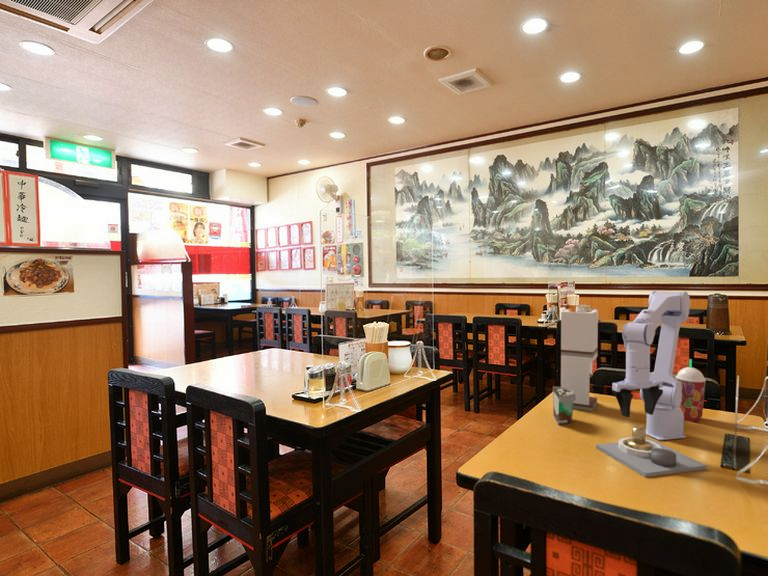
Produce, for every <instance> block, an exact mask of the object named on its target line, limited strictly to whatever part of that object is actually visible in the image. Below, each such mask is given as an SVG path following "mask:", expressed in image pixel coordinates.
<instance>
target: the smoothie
mask: <svg viewBox="0 0 768 576" xmlns="http://www.w3.org/2000/svg"><path fill="white" fill-rule="evenodd" d="M692 363H693V359H691V358H689V363H688V364H689V365H688V366H687V367H683V368H682V369H680V370H679V371H678V372H677V374H676V375H675V376H674V377H675V378H676V379H677V380H678V381H679V382H680V383H681V385H682V400H681V404H680V406H679V408H680V409H681V410H682V412H683V415H684V421H689V422H699V421H700V420H701V418H702V417H703V410H704V401H705V400H704V399H705V390H706V380H707V379H706V378H705V376H704V374H703V373H702V372H701V371H700V370H699V369H697V368H695V367H692V366H693V364H692Z"/></svg>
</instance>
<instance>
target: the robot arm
mask: <svg viewBox="0 0 768 576" xmlns="http://www.w3.org/2000/svg"><path fill="white" fill-rule="evenodd" d="M690 297H691V296H690V294H689V293H688V292H687V291H660V290H659V291H657V290H652V291H651V292H649V297H648V308H647V309H646V308H644V309H643V310H641V311H640V312H639V313H638V315H637V316H636V317H635V318H634V320H633V321H632V322H629V321H628V323H625V324H624V325H623V329H622V333H621V334H622V340H623V347H624V349H625V378H624V380H621V381H617V382H612V384H611V385H612V386H611V389H612V394H613V395H614V397H615V398H616V401H617V403H618V405H619V406H618V407H619V408H620V414H621V416H623V417H624V418H625V417H626V418H630V415H631V404H632V400H633V397H634V394H633V393H631V392H629V391H632V390H639V397H640V399H641V401H642V402H643V403H644V406H643V407H644V412H645V414H646V418H645V419H646V423H645V424H646V426H645V429H646V436H649V437H651V438H653V439H655V440H657V441H666V440H676V439H685V438H687V436H686V434H685V435H684V429H685V427H684V426H685V425H684V424H685V422H684V421H685V420H684V415H683V412H682V410H681V409H680V408H679V406H680V404H681V400H682V385H681V383H680V382H679V381H678V380H677V379H676V378H675V376H674V375H673V372H674V366H675V360H676V353H677V347H678V340H679V336H680V335H679V332H680V328H681V325H682V323H683V322H686V321H688V317H689V315H690V307H691V298H690ZM660 324H661V327H660V333H659V338H658V347H657V353H656V359H655V363H654V370H653V371H652V372H651V371H650V370H651V369H650V368H651V345H652V344H653V342H654V338H655V335H656V330H657V328H658V327H659V326H660ZM650 372H651V373H650Z"/></svg>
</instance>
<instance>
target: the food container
mask: <svg viewBox="0 0 768 576" xmlns="http://www.w3.org/2000/svg"><path fill="white" fill-rule="evenodd" d="M574 400H576V397H575V394H574V392H573V391H572V390H570V389H567V388H563V387H561V386H552V406H553V407H552V408H553V414H552V415H553V418H554V419H555V421H556V424H557V425H558V426H568V425H570V424H572V423H573V422H572V421H573V412H574V410H573V401H574Z"/></svg>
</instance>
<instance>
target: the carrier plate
mask: <svg viewBox="0 0 768 576" xmlns="http://www.w3.org/2000/svg"><path fill="white" fill-rule="evenodd" d="M629 438H630V437H623V438H620V439H618V441H616V442H607V443H599V444H596V445H595V448H596V449H597V450H598V451H600V452H602V453H604V454H606V455H607V456H609V457H610V456H611V458H612V459H614V460H615V459H616V461H618V462H619V463H620V462H621V463H620V464H622V465H623V466H625V465H626V466H625V467H627V468H629V469H630V470H632V471H633V472H636V473H637V474H639V475H640V476H643V478H648V477H657V476H664V475H672V474H679V473H680V474H681V473H688V472H694V471H695V472H697V471H704V470H707V469H708V468H707V467H708V466H707V465H706V464H704V463H703V462H701V461H698V460H696V459H694V458H692V457H690V456H688V455H685V454H684V453H681V452H679V451H678V450H676V449H673V448H671V447H669V446H668V445H667V446H666V445H664V444H662V443H660V442H658V441H656V440H654V439H652V438H646V441H649V442H650V444H653V449H651V451H644V450H637V449H633V448H630V447H628V446H626V445H625V441H626V440H628V439H629Z"/></svg>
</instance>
